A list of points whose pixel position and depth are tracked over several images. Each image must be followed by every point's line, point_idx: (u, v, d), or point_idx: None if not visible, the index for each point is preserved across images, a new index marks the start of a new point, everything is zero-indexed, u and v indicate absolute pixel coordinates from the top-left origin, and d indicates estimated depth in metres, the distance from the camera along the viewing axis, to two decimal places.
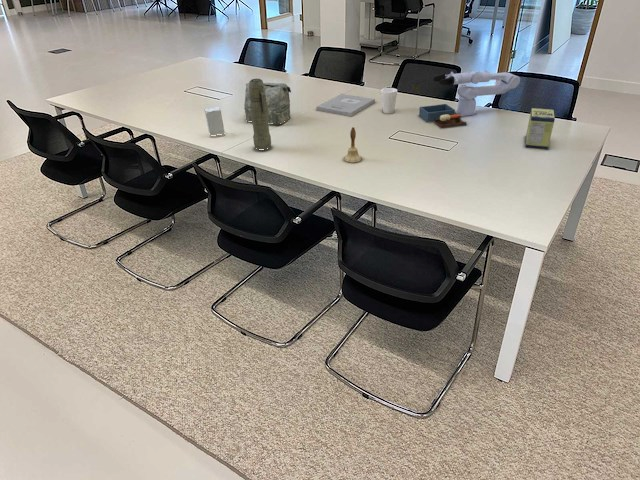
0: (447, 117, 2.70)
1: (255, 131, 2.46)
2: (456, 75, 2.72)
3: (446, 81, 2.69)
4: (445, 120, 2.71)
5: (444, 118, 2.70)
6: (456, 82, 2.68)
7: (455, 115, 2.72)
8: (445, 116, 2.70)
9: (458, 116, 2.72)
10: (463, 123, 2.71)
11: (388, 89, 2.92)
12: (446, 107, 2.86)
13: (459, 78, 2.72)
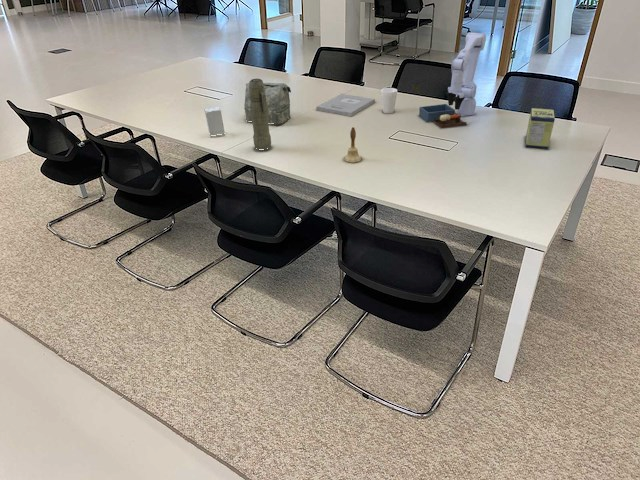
0: (447, 117, 2.70)
1: (255, 131, 2.46)
2: (453, 88, 2.62)
3: (457, 103, 2.64)
4: (445, 120, 2.71)
5: (444, 118, 2.70)
6: (462, 96, 2.59)
7: (455, 115, 2.72)
8: (445, 116, 2.70)
9: (458, 116, 2.72)
10: (463, 123, 2.71)
11: (388, 89, 2.92)
12: (446, 107, 2.86)
13: (457, 86, 2.60)
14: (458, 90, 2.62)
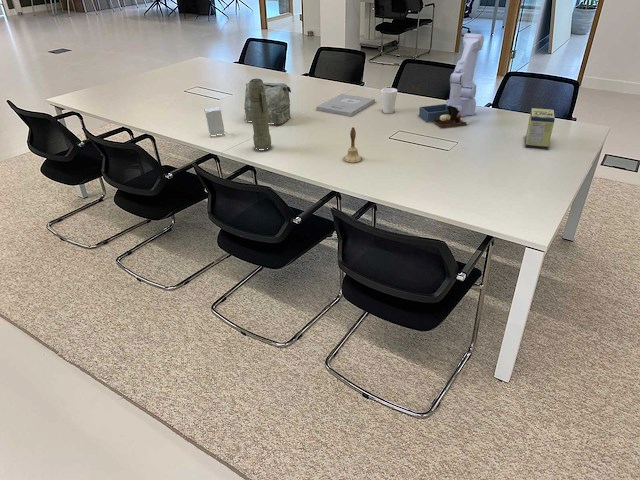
0: (447, 117, 2.70)
1: (255, 131, 2.46)
2: (452, 101, 2.65)
3: (454, 114, 2.70)
4: (445, 120, 2.71)
5: (444, 118, 2.70)
6: (460, 109, 2.63)
7: None
8: (445, 116, 2.70)
9: (458, 116, 2.72)
10: (463, 123, 2.71)
11: (388, 89, 2.92)
12: (446, 107, 2.86)
13: (456, 99, 2.64)
14: (456, 103, 2.65)
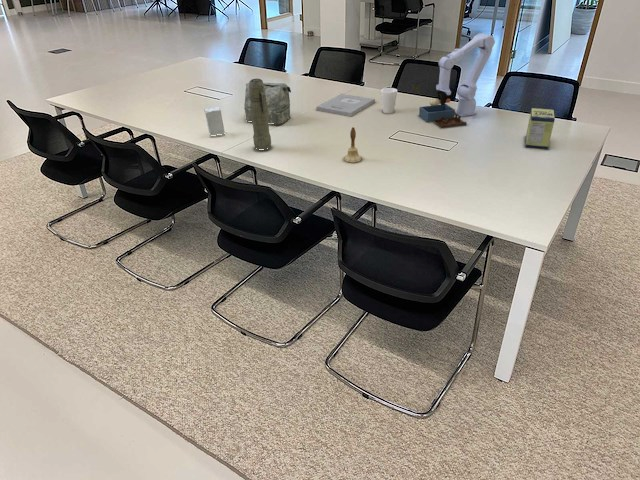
0: (436, 101, 2.75)
1: (255, 131, 2.46)
2: (441, 86, 2.71)
3: (443, 98, 2.75)
4: (434, 104, 2.76)
5: (433, 102, 2.75)
6: (449, 93, 2.68)
7: None
8: (434, 100, 2.75)
9: (447, 101, 2.77)
10: (463, 123, 2.71)
11: (388, 89, 2.92)
12: (446, 107, 2.86)
13: (445, 83, 2.69)
14: (446, 87, 2.71)
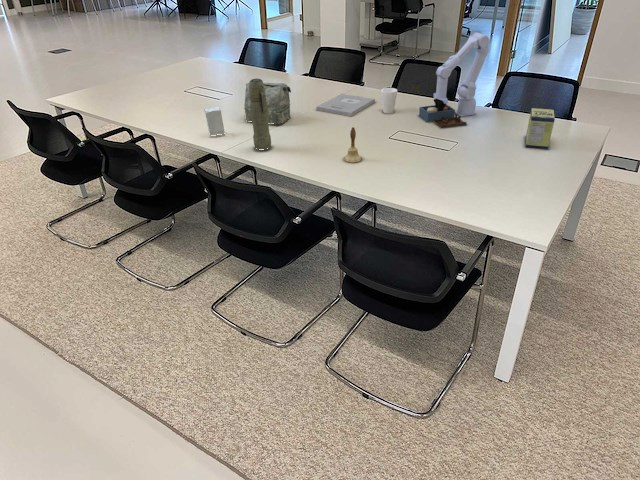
0: (434, 110, 2.80)
1: (255, 131, 2.46)
2: (438, 94, 2.75)
3: (440, 107, 2.79)
4: None
5: (431, 111, 2.79)
6: (446, 102, 2.72)
7: None
8: (432, 109, 2.79)
9: (444, 109, 2.81)
10: (463, 123, 2.71)
11: (388, 89, 2.92)
12: None
13: (442, 92, 2.74)
14: (443, 96, 2.75)
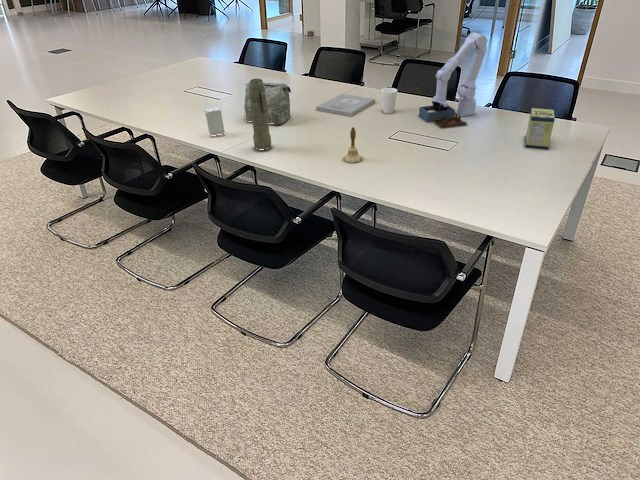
0: None
1: (255, 131, 2.46)
2: (438, 97, 2.76)
3: None
4: None
5: None
6: (446, 105, 2.73)
7: None
8: (432, 111, 2.81)
9: None
10: (463, 123, 2.71)
11: (388, 89, 2.92)
12: None
13: (441, 95, 2.75)
14: (442, 99, 2.76)
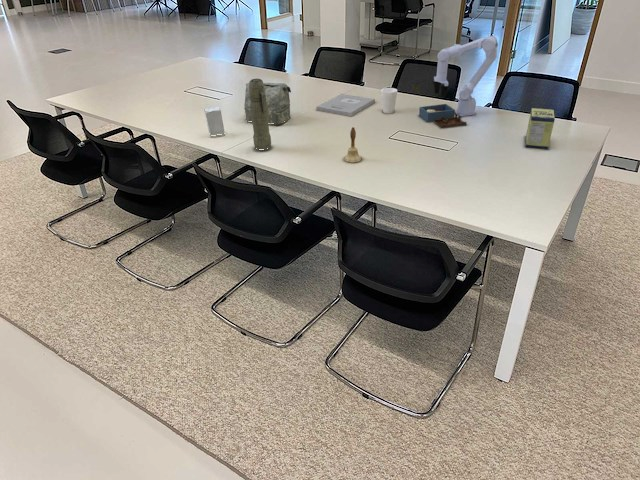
0: (432, 110, 2.82)
1: (255, 131, 2.46)
2: (439, 77, 2.80)
3: (443, 91, 2.83)
4: None
5: (429, 110, 2.82)
6: (446, 84, 2.78)
7: None
8: None
9: None
10: (463, 123, 2.71)
11: (388, 89, 2.92)
12: (446, 107, 2.86)
13: (442, 75, 2.79)
14: (443, 79, 2.80)
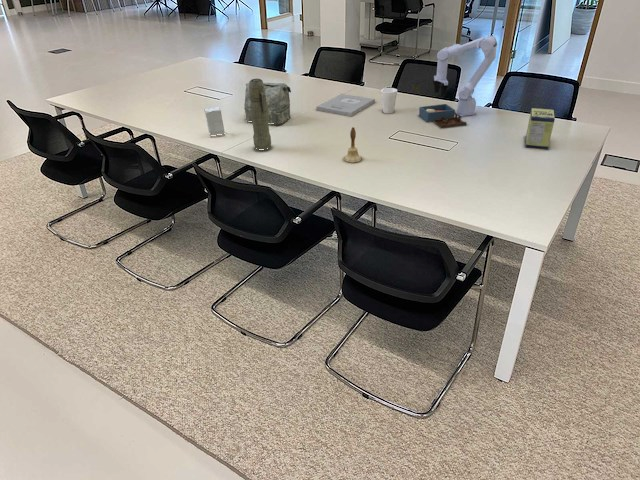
0: (431, 109, 2.84)
1: (255, 131, 2.46)
2: (439, 76, 2.82)
3: (443, 90, 2.84)
4: (430, 110, 2.83)
5: (428, 109, 2.83)
6: (446, 83, 2.79)
7: (439, 110, 2.85)
8: None
9: None
10: (463, 123, 2.71)
11: (388, 89, 2.92)
12: (446, 107, 2.86)
13: (442, 74, 2.80)
14: (443, 78, 2.82)
